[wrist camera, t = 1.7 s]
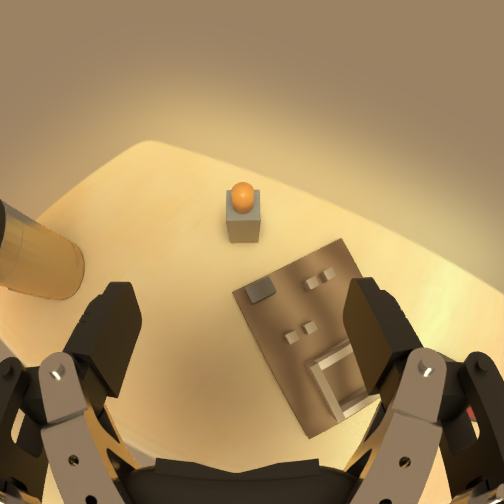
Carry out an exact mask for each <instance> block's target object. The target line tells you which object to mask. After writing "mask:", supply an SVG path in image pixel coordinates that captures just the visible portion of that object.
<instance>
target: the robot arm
mask: <svg viewBox="0 0 504 504" xmlns="http://www.w3.org/2000/svg"><path fill="white" fill-rule="evenodd" d="M83 273H84V260H83V256H82V253H81V251H80V250H79V248H78V247H77V246H76V245H75V244H73V243H72V242H70V241H68V240H66V239H65V238H63V237H61V236H60V235H58V234H56V233H54V232H53V231H51V230H49V229H47V228H46V227H44V226H42V225H41V224H39V223H37V222H36V221H34V220H32V219H31V218H29V217H27V216H26V215H24V214H23V213H21V212H19V211H18V210H16V209H15V208H13V207H11V206H10V205H8V204H7V203H5V202H4V201H2V200H1V199H0V285H1V286H4V287H7V288H8V289H9V290H11V291H15V292H19V293H23V294H27V295H32V296H36V297H41V298H45V299H49V298H53V299H58V300H63V299H67V298H69V297H71V296H72V295H73V294H74V293H75V292H76V290H77V289H78V288H79V286H80V284H81V281H82V278H83ZM343 324H344V328H345V330H346V333H347V336H348V338H349V341H350V344H351V347H352V349H353V352H354V355H355V358H356V361H357V364H358V366H359V369H360V372H361V375H362V378H363V381H364V384H365V387H366V390H367V393H368V396H372V395H377V394H380V397H381V401H380V403H379V405H378V407H377V409H376V412H375V414H374V416H373V418H372V420H371V423H370V425H369V427H368V429H367V431H366V433H365V435H364V437H363V439H362V441H361V443H360V445H359V447H358V448H357V450H356V451H355V453H354V454H353V456H352V457H351V459H350V460H349V462H348V463H347V465H346V467H345V468H344V470H343V471H342V470H339V469H335V468H331V467H326V466H319V459H311V460H303V461H294V462H283V463H276V464H273V465H269V466H266V467H262V468H258V469H254V470H250V471H246V472H241V473H231V472H227V471H223V470H219V469H215V468H212V467H208V466H205V465H201V464H198V463H195V462H185V461H176V460H168V459H161V458H156V464H155V466H148V467H143V468H141V467H140V466H139V464H138V463H137V461H136V460H135V459H134V457H133V456H132V455H131V454H130V452H129V451H128V449H127V448H126V446H125V444H124V442H123V440H122V438H121V436H120V434H119V432H118V430H117V428H116V426H115V424H114V422H113V420H112V417H111V415H110V413H109V411H108V408H107V406H106V404H105V400H106V397H107V396H109V397H114V398H118V396H119V393H120V390H121V386H122V383H123V380H124V377H125V374H126V370H127V367H128V364H129V361H130V358H131V355H132V353H133V350H134V347H135V344H136V341H137V338H138V335H139V333H140V330H141V326H142V316H141V312H140V309H139V306H138V303H137V300H136V296H135V293H134V290H133V287H132V284H131V283H130V282H110V283H109V284H108V286H107V287H106V289H105V291H104V292H103V294H102V295H98V296H97V297H96V298H95V299H94V300H92V301H91V302H90V303H89V305H88V307H87V308H86V310H85V312H84V315H82V317H81V318H80V320H79V323H78V324H77V325H76V327H75V329H74V331H73V333H72V334H71V336H70V338H69V340H68V342H67V344H66V346H65V348H64V349H63V351H62V352H57V353H54V354H51V355H49V356H48V357H47V358H46V359H45V360H44V361H43V362H42V363H41V365H40V366H38V367H28V368H25V367H24V366H23V364H22V363H21V362H20V360H19V359H17V358H15V357H9V358H6V359H5V360H3V361H2V362H1V363H0V504H42V496H43V490H44V483H45V478H46V473H47V468H48V463H49V464H50V467H51V470H52V473H53V476H54V479H55V481H56V484H57V487H58V489H59V492H60V494H61V497H62V499H63V501H64V504H418V501H419V499H420V497H421V494H422V492H423V490H424V487H425V484H426V482H427V479H428V477H429V474H430V471H431V468H432V465H433V462H434V459H435V456H436V453H437V449H438V446H439V447H440V451H441V454H442V458H443V462H444V466H445V470H446V474H447V478H448V483H449V488H450V492H451V497H452V501H451V503H450V504H504V381H503V379H502V377H501V375H500V373H499V371H498V369H497V367H496V365H495V364H494V362H493V360H492V359H491V358H490V357H489V356H488V355H486V354H484V353H482V352H472V353H470V354H469V355H468V357H467V358H466V359H465V361H464V362H445V361H444V359H443V358H442V356H441V355H440V354H439V353H437V352H436V351H434V350H432V349H429V348H424V347H423V345H422V344H421V342H420V340H419V338H418V336H417V335H416V333H415V331H414V329H413V328H412V326H411V324H410V323H409V321H408V319H407V318H406V317H405V314H404V312H403V311H402V310H401V308H400V306H399V304H398V303H397V301H396V299H395V298H394V297H393V296H392V295H390V294H389V293H388V292H387V291H385V290H380V289H379V287H378V285H377V284H376V282H375V280H374V279H373V278H372V277H365V278H352V279H351V281H350V284H349V288H348V293H347V297H346V301H345V305H344V309H343ZM470 406H471V408H472V411H473V413H474V416H475V418H476V421H477V424H478V426H479V430H480V434H479V438H478V440H477V437H476V434H475V431H474V428H473V426H472V423H471V420H470V418H469V415H468V412H467V409H468V408H469V407H470ZM19 408H20V409H21V410H22V411H23V412H24V413H25V416H24V419H23V422H22V426H21V428H20V432H19V435H18V438H17V442H16V444H15V443H14V442H13V440H12V437H11V430H12V427H13V423H14V421H15V417H16V414H17V412H18V409H19Z"/></svg>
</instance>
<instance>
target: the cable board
mask: <svg viewBox="0 0 504 504" xmlns="http://www.w3.org/2000/svg"><path fill="white" fill-rule="evenodd" d="M352 278H363V277H362V275H361V273H360V271H359V269H358V267H357V265H356V263H355V262H354V260H353V258H352V256H351V254H350V252H349V251H348V249H347V247H346V245H345V243H344V242H343V240H342V238H340V239H338V240H336V241H335V242H333V243H331V244H329V245H327V246H325V247H323V248H321V249H319V250H317V251H315V252H313V253H311V254H309V255H307V256H305V257H303V258H301V259H299V260H297V261H295V262H293V263H291V264H289V265H287V266H285V267H283V268H281V269H279V270H277V271H275V272H273V273H271V274H269V275H267V276H265V277H263V278H261V279H259V280H257V281H255V282H253V283H250V284H248V285H246V286H244V287H242V288H240V289H238V290H236V291H234V292H232V293H233V295H234V297H235V299H236V301H237V303H238V305H239V307H240V309H241V311H242V313H243V315H244V317H245V319H246V321H247V323H248V325H249V327H250V329H251V331H252V333H253V335H254V337H255V339H256V341H257V343H258V345H259V347H260V349H261V351H262V353H263V355H264V357H265V359H266V361H267V363H268V364H269V366H270V368H271V370H272V372H273V374H274V376H275V378H276V380H277V382H278V383H279V385H280V387H281V389H282V391H283V393H284V395H285V397H286V398H287V400H288V402H289V404H290V406H291V408H292V409H293V411H294V413H295V415H296V417H297V419H298V420H299V422H300V424H301V426H302V428H303V429H304V431H305V433H306V435H307V436H308V438H309V439H311V438H313V437H315V436H317V435H319V434H320V433H322V432H324V431H326V430H328V429H330V428H331V427H333V426H335V425H337V424H339V423H340V422H342V421H344V420H345V419H347V418H349V417H350V416H352V415H354V414H355V413H357V412H358V411H360V410H362V409H363V408H365V407H366V406H368V405H369V404H371V403H372V402H374V401H375V400H377V399H378V398H380V394H377V395H372V396H368V393H367V390H366V387H365V384H364V381H363V378H362V375H361V372H360V369H359V366H358V364H357V361H356V358H355V355H354V352H353V349H352V347H351V344H350V341H349V338H348V336H347V333H346V330H345V328H344V324H343V309H344V305H345V301H346V297H347V293H348V288H349V284H350V281H351V279H352Z"/></svg>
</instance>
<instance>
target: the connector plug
mask: <svg viewBox="0 0 504 504" xmlns="http://www.w3.org/2000/svg"><path fill="white" fill-rule="evenodd" d="M260 221H261V218H260V190H254V189H253V187H252V186H251V185H250V184H248V183H245V182H241V183H237V184H236V185H234V187H233V188H232V190H227V194H226V223H227V227H228V232H229V237H230V242H231V243H255V242H258V238H259V230H260Z"/></svg>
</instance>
